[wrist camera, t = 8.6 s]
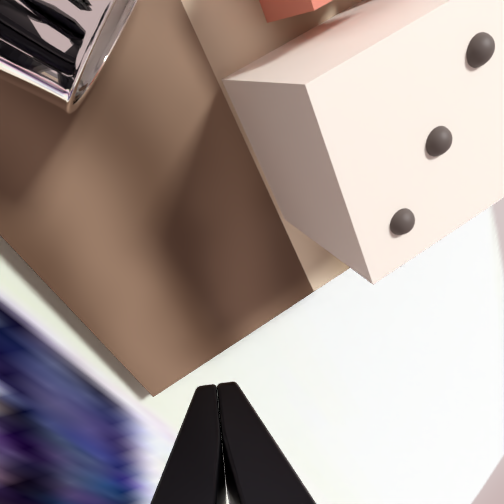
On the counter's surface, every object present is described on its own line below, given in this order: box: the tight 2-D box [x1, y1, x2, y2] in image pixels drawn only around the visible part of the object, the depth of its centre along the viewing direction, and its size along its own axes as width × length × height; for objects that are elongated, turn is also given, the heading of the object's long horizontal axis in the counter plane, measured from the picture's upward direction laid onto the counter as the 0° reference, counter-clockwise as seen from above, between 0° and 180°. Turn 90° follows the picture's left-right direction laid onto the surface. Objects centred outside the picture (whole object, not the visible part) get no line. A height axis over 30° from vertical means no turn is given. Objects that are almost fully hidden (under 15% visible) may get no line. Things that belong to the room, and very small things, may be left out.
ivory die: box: [222, 0, 504, 285], centre depth 16 cm, size 8×8×8 cm
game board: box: [0, 0, 362, 397], centre depth 18 cm, size 20×18×3 cm
